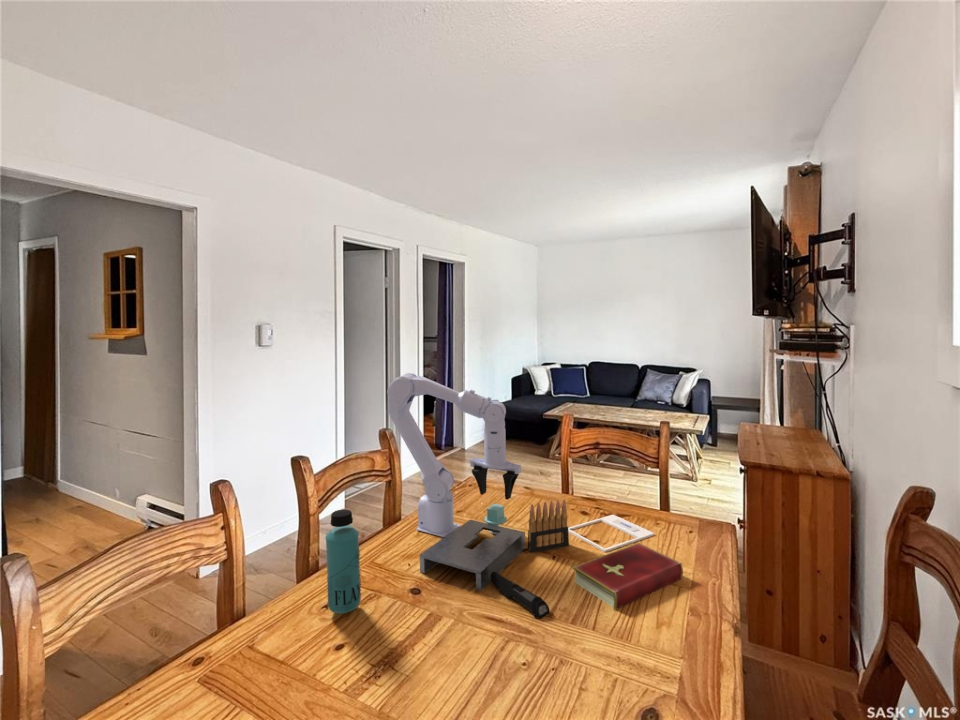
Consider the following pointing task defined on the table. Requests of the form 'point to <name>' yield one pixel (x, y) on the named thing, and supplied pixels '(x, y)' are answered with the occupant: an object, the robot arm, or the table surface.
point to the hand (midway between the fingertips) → (495, 495)
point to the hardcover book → (627, 574)
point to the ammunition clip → (548, 528)
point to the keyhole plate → (475, 551)
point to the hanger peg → (495, 516)
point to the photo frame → (619, 524)
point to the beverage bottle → (343, 563)
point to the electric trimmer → (520, 595)
